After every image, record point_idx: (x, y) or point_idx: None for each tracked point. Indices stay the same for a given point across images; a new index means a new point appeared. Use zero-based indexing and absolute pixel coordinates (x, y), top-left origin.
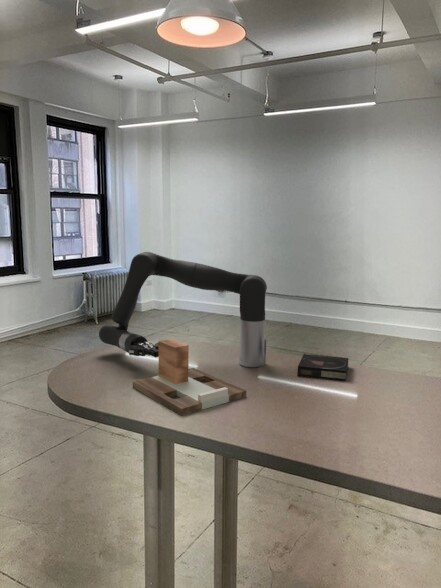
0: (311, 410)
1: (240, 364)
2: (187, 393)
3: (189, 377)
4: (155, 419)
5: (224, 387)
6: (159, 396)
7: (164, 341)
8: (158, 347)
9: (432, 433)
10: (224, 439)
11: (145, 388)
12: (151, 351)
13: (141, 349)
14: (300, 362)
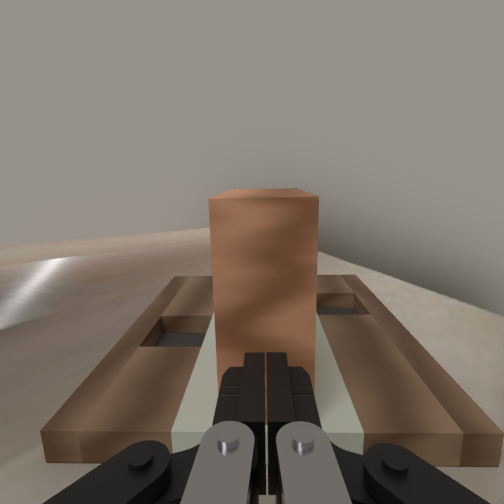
0: (159, 258)
1: None
2: None
3: (199, 355)
4: (416, 294)
5: None
6: (387, 309)
7: (287, 195)
8: (121, 466)
9: (142, 233)
10: (326, 256)
11: (426, 351)
12: (307, 396)
13: (436, 470)
14: None
